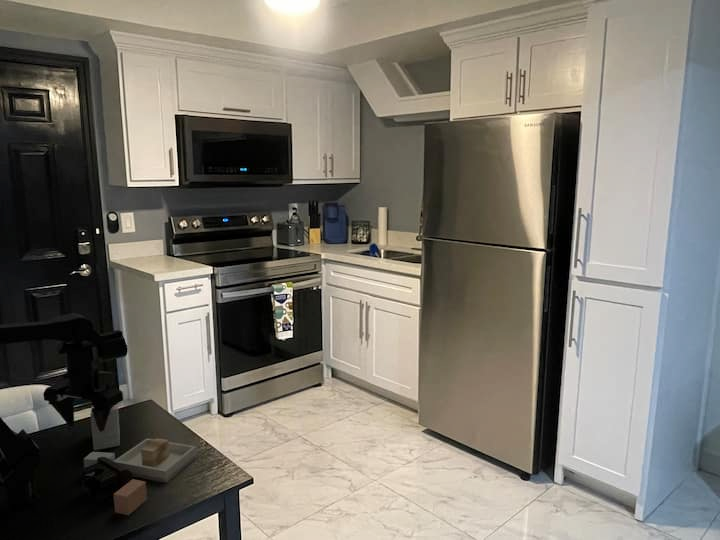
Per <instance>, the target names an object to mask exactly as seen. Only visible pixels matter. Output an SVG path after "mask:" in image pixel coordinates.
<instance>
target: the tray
mask: <svg viewBox="0 0 720 540" xmlns="http://www.w3.org/2000/svg"><path fill="white" fill-rule="evenodd" d="M155 439H156V438H155ZM155 439H153V438H145V439H144V440H142V441H141V442H140V443H138V444H137V445H134V447H132V448H131V449H129V450H128V451H126V452H124V453H123V454H122V455H120V456H119V457H117V458H115V460H114V462H116V463H117V464H119V465H121V466H123V467H124V468H126V469H128V470H129V471H131V472H132V474H133V478H140V479H145V480H149V481H154V482H160V483H164V484H165V483H166V484H167V483H168V482H169V481H171V480H172V479H173V478H174V477H175V476H177V475H178V474H179V473H180V472H181V471H183V470H184V469H185V467H188V466H189V464H190V463H192V462H193V461H195V460H196V459H197V457H198V455H197V454H198V453H197V451H198V450H197V446H195V445H190V444H184V443H177V442H172V441H168V442H169V457H168V458H167V459H165V460H164V461H163V462H161V463H160V464H159V465H158V466H156V467H149V466H144V465H142V455H141V449H142V448H144V447H145V446H146V445H148V444H149V443H151V442H152V441H154V440H155Z"/></svg>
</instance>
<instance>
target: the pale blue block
mask: <svg viewBox="0 0 720 540" xmlns="http://www.w3.org/2000/svg"><path fill="white" fill-rule="evenodd" d="M99 457H107V458H109V459H110V460H112V461H114V460H116V453H115V452H106V451H105V452H101V451H91V452H90V453H89V454H88V455H87V456H85V457H84V458H83V468H86V467H88V466H90V465H92V464H95V463H97V462H98V461H97V458H99ZM94 474H95V472H92V473H90V474H86V475H84V476H89V477H91V476H93V475H94Z"/></svg>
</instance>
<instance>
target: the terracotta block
mask: <svg viewBox="0 0 720 540" xmlns="http://www.w3.org/2000/svg"><path fill="white" fill-rule="evenodd" d="M147 500H148V495H147V482H146V481H145V480H144V481H143V480H139V479H134V478H133V479H132V480H131V481H130V482H129V483H127V484H126V485H125V486H123V487H122V488H121V489H119V490H118V491H117V492H116V493H114V501H113V503H114V512H115V513H116V514H120V515H125V516H129V515H131V514H132V513H133V512H134V511H136V509H138V508H139V507H140V506H141V505H142V504H143V503H145V502H146V501H147Z"/></svg>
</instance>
